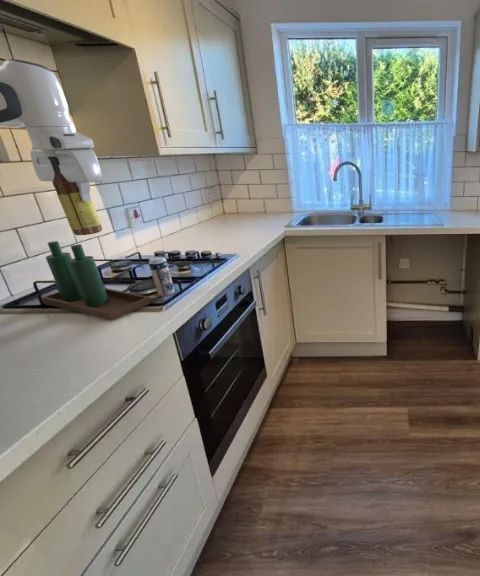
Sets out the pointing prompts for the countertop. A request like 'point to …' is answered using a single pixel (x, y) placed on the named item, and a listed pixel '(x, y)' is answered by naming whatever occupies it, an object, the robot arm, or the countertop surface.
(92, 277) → the green bottle
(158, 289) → the beer can
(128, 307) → the tray
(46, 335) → the countertop surface
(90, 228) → the sauce bottle
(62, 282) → the green bottle
